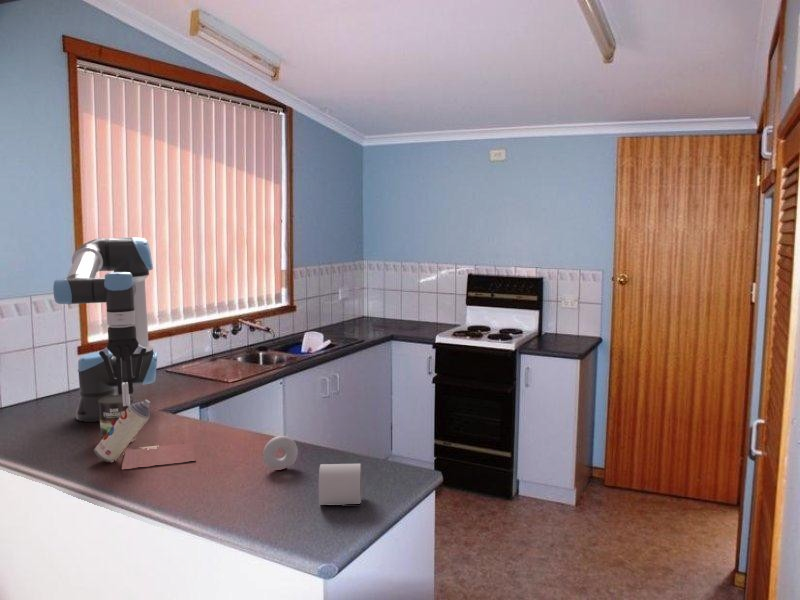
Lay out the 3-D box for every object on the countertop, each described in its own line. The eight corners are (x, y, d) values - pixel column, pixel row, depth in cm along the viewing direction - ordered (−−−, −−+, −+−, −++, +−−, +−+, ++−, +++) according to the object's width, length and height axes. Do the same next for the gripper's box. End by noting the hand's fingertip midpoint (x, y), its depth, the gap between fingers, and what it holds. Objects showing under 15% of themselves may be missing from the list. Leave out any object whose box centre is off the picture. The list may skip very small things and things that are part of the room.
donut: (296, 465, 189) (295, 431, 188) (299, 469, 186) (298, 435, 185) (262, 471, 185) (260, 437, 184) (265, 475, 182) (264, 440, 181)
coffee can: (133, 445, 207) (131, 401, 205) (98, 448, 204) (95, 404, 202) (137, 434, 217) (135, 393, 215) (103, 437, 214) (101, 396, 212)
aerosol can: (96, 445, 194) (139, 391, 196) (116, 457, 196) (158, 404, 198) (91, 453, 187) (136, 397, 189) (112, 466, 189) (156, 410, 191)
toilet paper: (361, 494, 169) (361, 457, 168) (360, 512, 159) (359, 472, 158) (322, 495, 168) (321, 458, 167) (319, 512, 159) (318, 473, 157)
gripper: (94, 328, 183) (100, 410, 186) (145, 325, 188) (150, 405, 190) (98, 325, 191) (103, 403, 193) (146, 322, 195) (151, 399, 197)
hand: (126, 404), depth 192 cm, fingers closed
